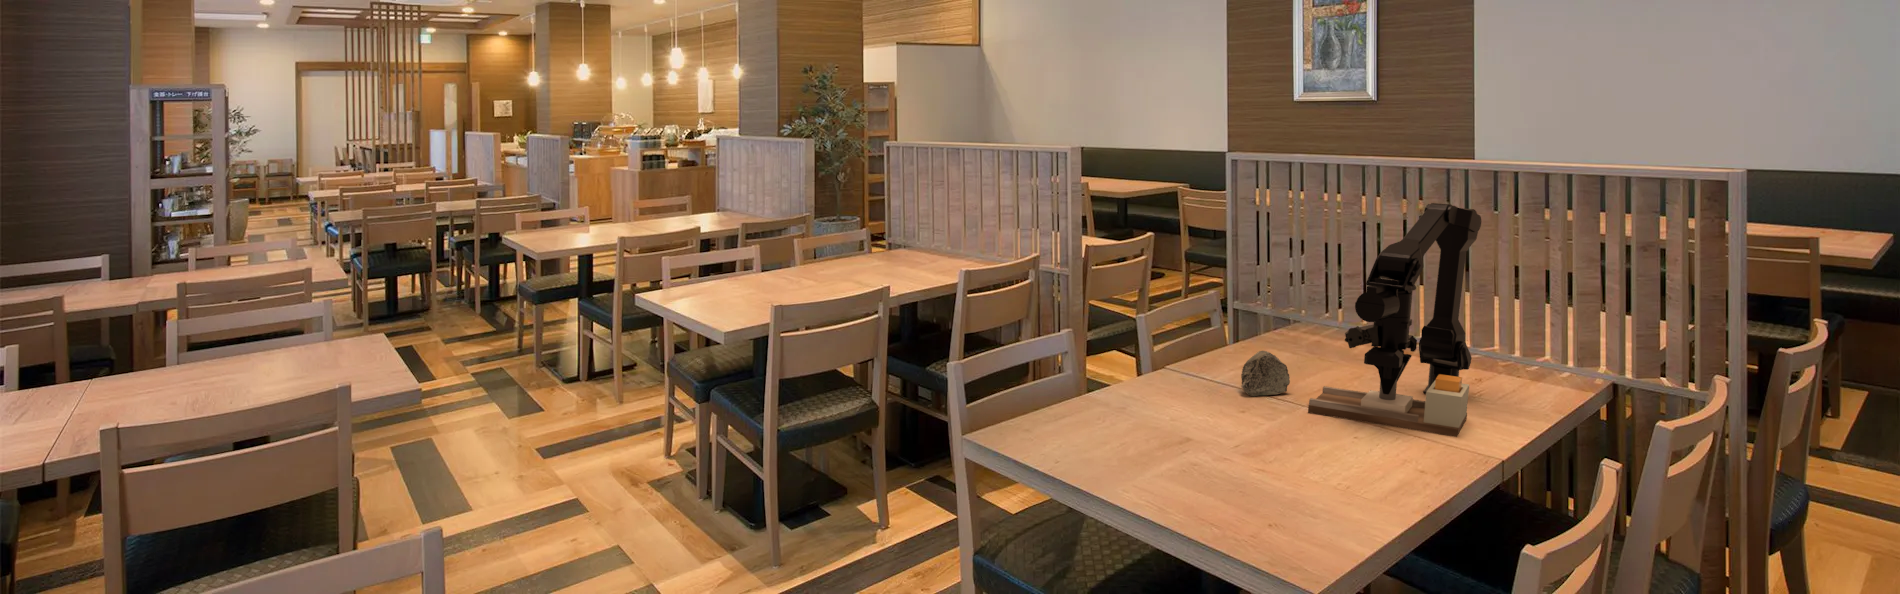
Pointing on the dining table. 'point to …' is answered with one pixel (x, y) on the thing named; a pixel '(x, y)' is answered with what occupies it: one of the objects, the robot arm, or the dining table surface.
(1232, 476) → the dining table surface
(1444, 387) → the button
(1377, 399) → the carriage
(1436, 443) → the dining table surface
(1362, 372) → the dining table surface
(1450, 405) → the button housing
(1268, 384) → the stone
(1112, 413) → the dining table surface
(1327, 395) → the track
